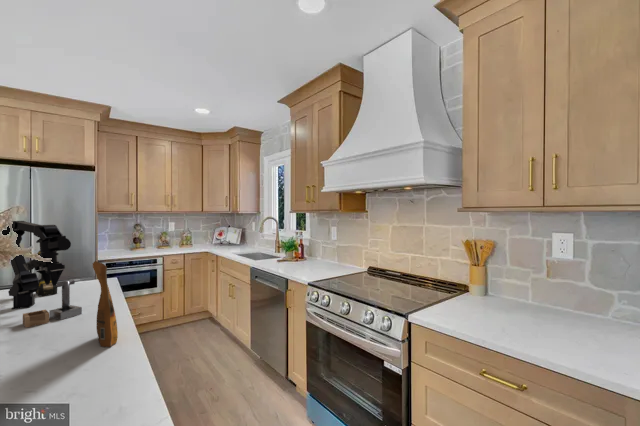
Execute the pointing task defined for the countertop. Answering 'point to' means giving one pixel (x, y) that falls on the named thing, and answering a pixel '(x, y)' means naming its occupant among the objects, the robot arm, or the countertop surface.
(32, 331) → the countertop surface
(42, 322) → the wooden square frame
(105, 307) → the curved wooden sculpture
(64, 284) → the chuck key
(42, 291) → the cordless drill
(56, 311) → the block
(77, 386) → the countertop surface
